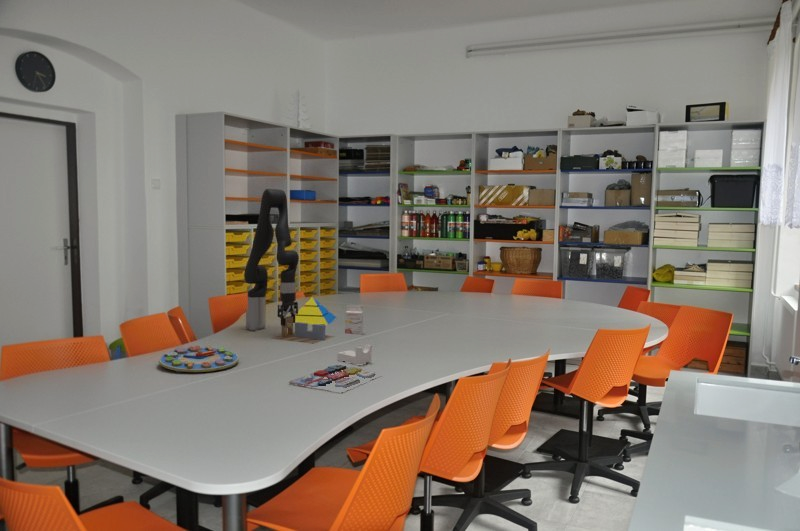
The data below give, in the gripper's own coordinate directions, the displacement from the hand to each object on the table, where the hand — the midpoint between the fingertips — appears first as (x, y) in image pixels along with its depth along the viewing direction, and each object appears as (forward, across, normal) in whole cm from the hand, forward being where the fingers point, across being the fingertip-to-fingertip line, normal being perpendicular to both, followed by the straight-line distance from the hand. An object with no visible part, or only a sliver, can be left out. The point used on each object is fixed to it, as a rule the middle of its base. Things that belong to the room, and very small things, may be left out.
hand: (288, 324), depth 316 cm
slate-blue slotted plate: (+6, 0, +13) cm, 14 cm away
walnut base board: (+7, 0, +8) cm, 11 cm away
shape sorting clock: (+8, +63, 0) cm, 63 cm away
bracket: (+8, +28, +52) cm, 60 cm away
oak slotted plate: (+6, 0, 0) cm, 6 cm away
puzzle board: (+9, +56, +60) cm, 83 cm away
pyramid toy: (+7, -48, -16) cm, 51 cm away
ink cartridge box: (+7, -24, +24) cm, 34 cm away
